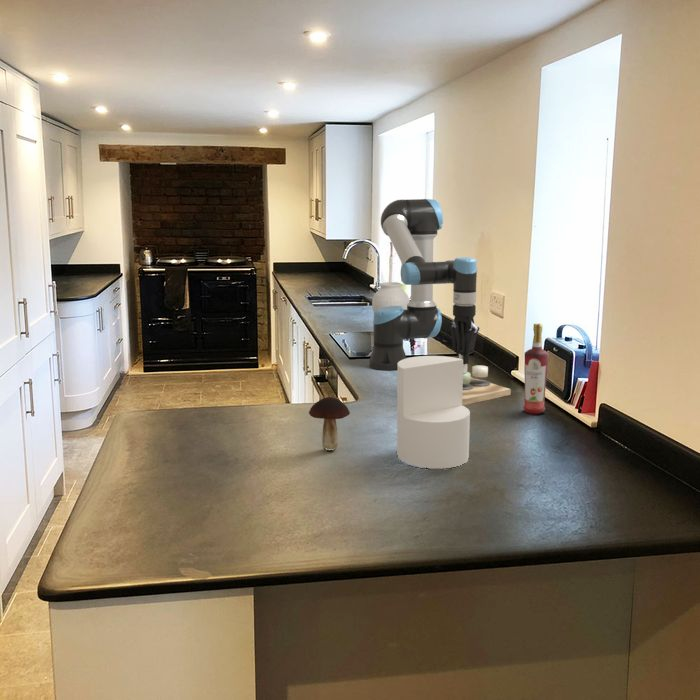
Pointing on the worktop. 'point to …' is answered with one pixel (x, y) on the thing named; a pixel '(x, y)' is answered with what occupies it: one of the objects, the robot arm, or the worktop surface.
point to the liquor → (535, 374)
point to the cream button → (479, 371)
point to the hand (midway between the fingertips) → (462, 372)
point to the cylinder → (432, 412)
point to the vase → (390, 296)
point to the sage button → (466, 377)
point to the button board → (482, 391)
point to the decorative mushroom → (329, 418)
